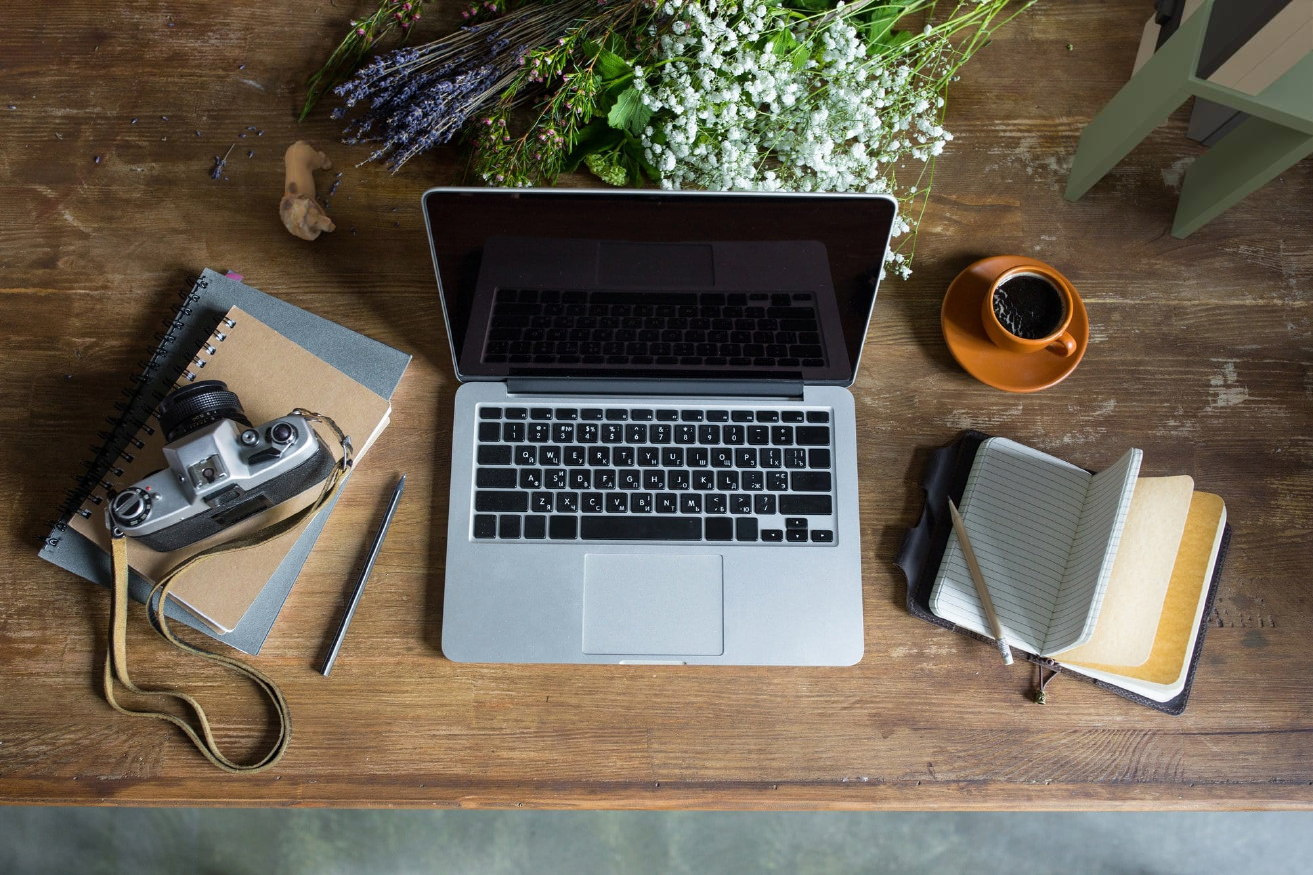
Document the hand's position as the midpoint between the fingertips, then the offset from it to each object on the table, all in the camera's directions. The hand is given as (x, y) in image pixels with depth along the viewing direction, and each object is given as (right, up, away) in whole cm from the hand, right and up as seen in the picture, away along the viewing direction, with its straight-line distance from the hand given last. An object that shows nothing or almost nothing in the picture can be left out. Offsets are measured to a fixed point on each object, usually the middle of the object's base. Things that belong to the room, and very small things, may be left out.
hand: (1178, 51), depth 86 cm
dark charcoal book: (-2, -5, -11) cm, 12 cm away
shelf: (+1, -11, +10) cm, 15 cm away
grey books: (+12, -2, +13) cm, 18 cm away
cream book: (+2, +3, +8) cm, 9 cm away
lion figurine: (-96, -16, +6) cm, 98 cm away
